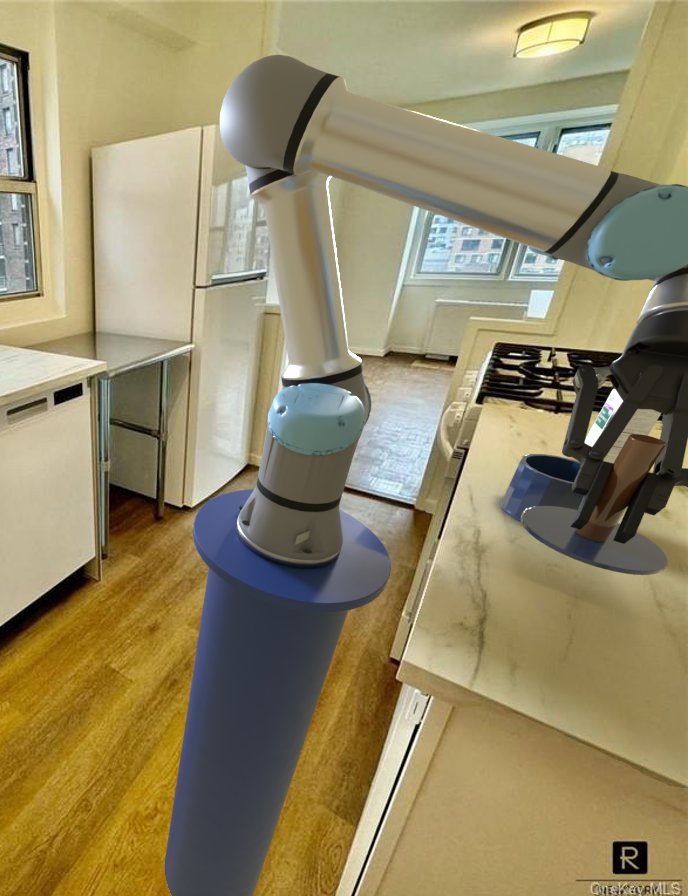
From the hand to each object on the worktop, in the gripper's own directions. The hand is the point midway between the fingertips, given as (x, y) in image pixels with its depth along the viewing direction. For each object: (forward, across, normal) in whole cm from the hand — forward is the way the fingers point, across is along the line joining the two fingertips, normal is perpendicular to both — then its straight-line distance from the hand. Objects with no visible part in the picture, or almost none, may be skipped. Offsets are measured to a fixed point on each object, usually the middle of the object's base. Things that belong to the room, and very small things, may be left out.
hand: (601, 530), depth 46 cm
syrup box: (-35, +4, +58) cm, 68 cm away
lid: (-1, 0, +5) cm, 5 cm away
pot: (-14, -2, +37) cm, 39 cm away
